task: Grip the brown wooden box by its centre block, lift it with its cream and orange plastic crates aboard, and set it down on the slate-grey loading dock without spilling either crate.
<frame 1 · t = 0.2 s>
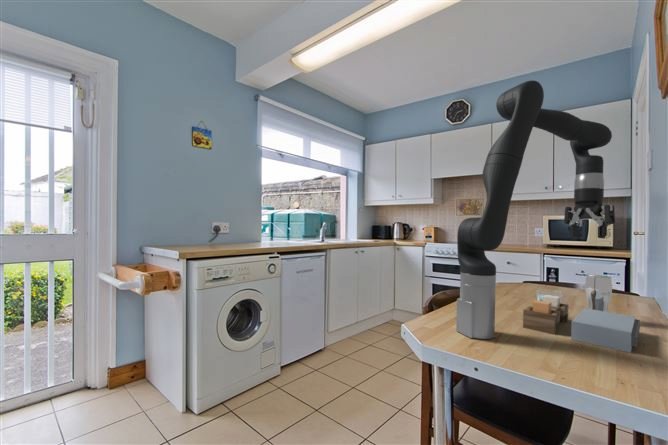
hand: (587, 237, 102), 28 cm above the table, fingers open, 8 cm apart
beer glass: (597, 320, 105), on the table
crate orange: (541, 315, 95), point 4 cm above the table, touching brown wooden box
brown wooden box: (546, 324, 99), on the table, touching crate cream, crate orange
crate cream: (551, 308, 104), point 4 cm above the table, touching brown wooden box
dock: (604, 336, 89), on the table
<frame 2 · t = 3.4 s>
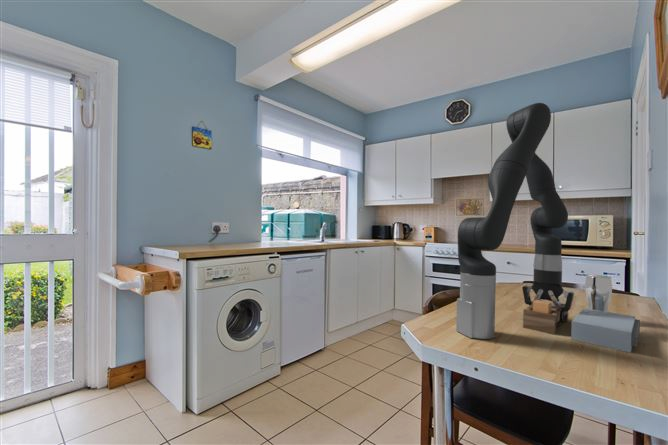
hand: (546, 320, 100), 1 cm above the table, fingers closed on brown wooden box, 5 cm apart
brown wooden box: (546, 324, 99), on the table, touching crate cream, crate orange, gripper
everything else where it was.
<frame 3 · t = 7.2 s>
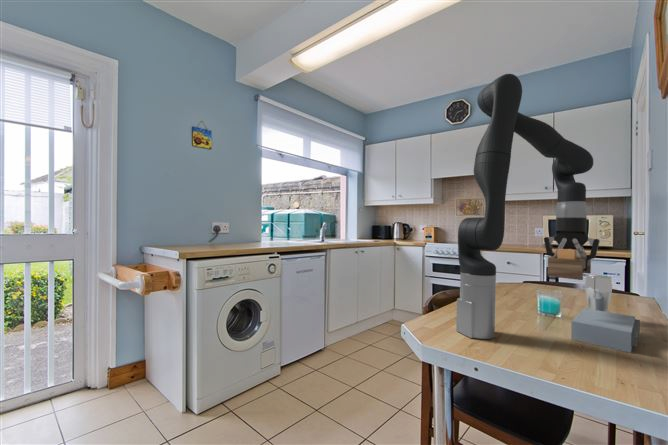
hand: (570, 271, 96), 18 cm above the table, fingers closed on brown wooden box, 5 cm apart
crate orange: (566, 263, 91), point 21 cm above the table, touching brown wooden box
brown wooden box: (570, 274, 96), point 17 cm above the table, touching crate cream, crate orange, gripper
crate cream: (573, 260, 100), point 21 cm above the table, touching brown wooden box
everything else where it was.
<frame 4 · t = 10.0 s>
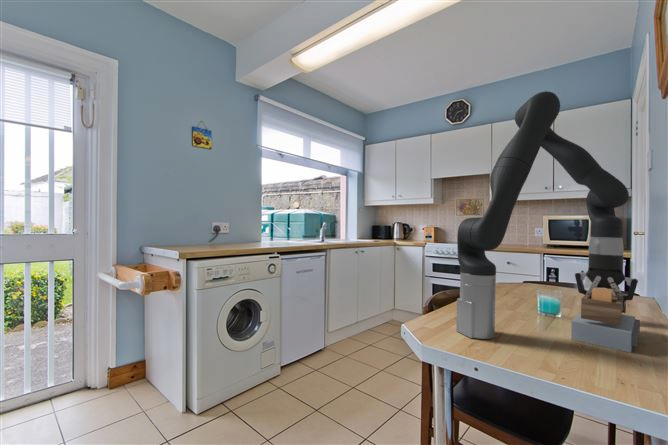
hand: (604, 311, 89), 7 cm above the table, fingers closed on brown wooden box, 5 cm apart
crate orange: (602, 304, 85), point 10 cm above the table, touching brown wooden box
brown wooden box: (604, 314, 89), point 6 cm above the table, touching crate cream, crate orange, gripper
crate cream: (607, 298, 94), point 10 cm above the table, touching brown wooden box
everything else where it was.
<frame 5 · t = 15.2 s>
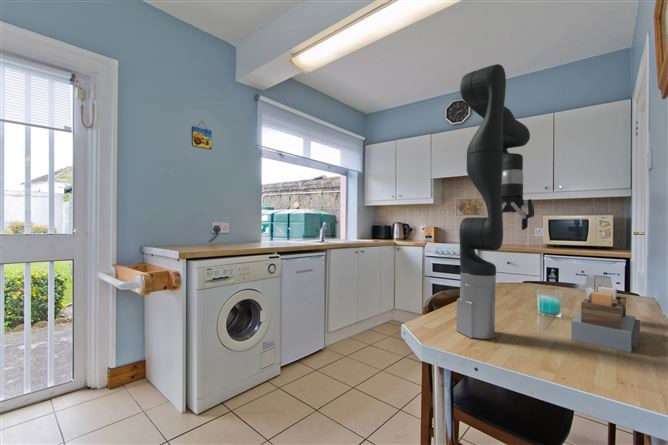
hand: (509, 229, 110), 30 cm above the table, fingers open, 8 cm apart
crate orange: (602, 308, 85), point 9 cm above the table, touching brown wooden box
brown wooden box: (604, 318, 89), point 5 cm above the table, touching crate cream, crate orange, dock
crate cream: (606, 301, 94), point 9 cm above the table, touching brown wooden box
everything else where it was.
at the end: brown wooden box inside the target area on the dock (0.1 cm from its centre), point 5.0 cm above the dock's base; crate cream point 9.0 cm above the table; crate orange point 9.0 cm above the table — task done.
